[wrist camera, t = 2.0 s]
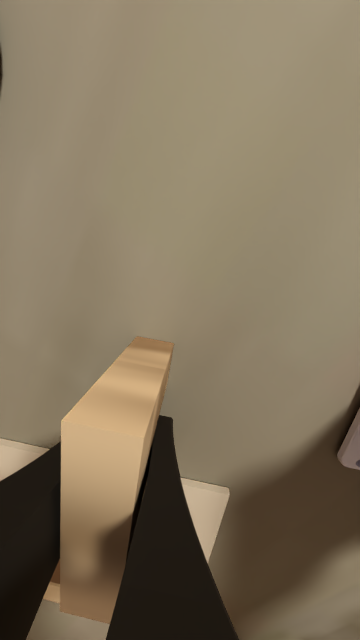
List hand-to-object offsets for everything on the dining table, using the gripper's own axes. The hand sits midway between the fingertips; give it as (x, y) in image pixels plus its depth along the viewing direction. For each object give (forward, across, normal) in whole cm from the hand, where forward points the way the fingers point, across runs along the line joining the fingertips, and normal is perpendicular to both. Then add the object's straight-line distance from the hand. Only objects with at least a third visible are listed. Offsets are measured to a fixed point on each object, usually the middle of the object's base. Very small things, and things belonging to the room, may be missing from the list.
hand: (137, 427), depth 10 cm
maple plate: (+2, 0, 0) cm, 2 cm away
